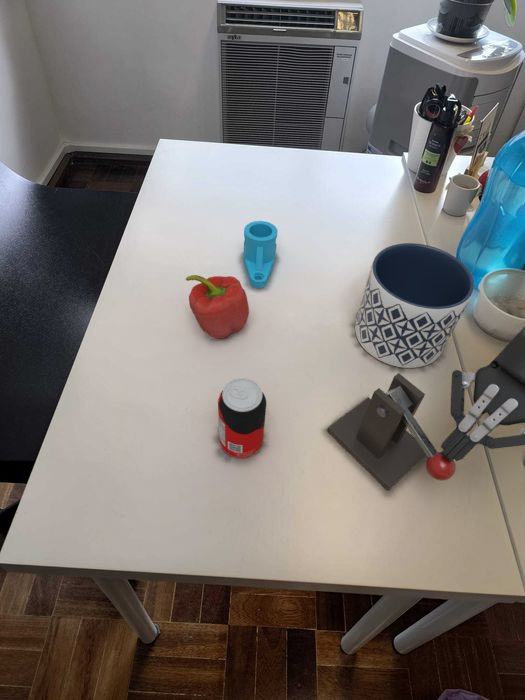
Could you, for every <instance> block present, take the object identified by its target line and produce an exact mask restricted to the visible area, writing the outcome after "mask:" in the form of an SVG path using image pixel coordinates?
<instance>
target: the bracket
mask: <svg viewBox="0 0 525 700" xmlns="http://www.w3.org/2000/svg"><path fill="white" fill-rule="evenodd" d="M243 238H244V241H243V258H242V260H243V264H244V267H245V271H246V274H247V277H248V281H249V285H250V286H251V287H252V288H254V289H262V288H265V287H266V286H267V285H268V281H269V279H270V276H271V274H272V272H273V269H274V266H275V263H276V254H277V253H276V252H277V238H278V228H277V227H276V225H275V224H273V223H271V222H269V221H265V220H264V221H263V220H254V221H252V222H249V223H247V224H246V225H245V226H244V228H243Z"/></svg>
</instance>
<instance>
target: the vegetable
mask: <svg viewBox="0 0 525 700" xmlns="http://www.w3.org/2000/svg"><path fill="white" fill-rule="evenodd" d="M185 280H186V281H188V282H189V281H197V282H200V283H197V284H195V285H194V286H193V287H192V288H191V290H190V293H189V294H188V304H189V308H190V309H191V312H192V314H193V315H194V317H195V320H196V322H197V324H198V325H199V327H200V329H201V330H202V331H203V332H205V334H207V335H208V336H210V337H212V338H217V339H224V338H227V337H228V336H229V335H230V334H231V333H234V332H239V331H240V330H242V329H243V328H244V327H245V325H247V321H248V318H249V315H250V307H249V301H248V297H247V293H246V290H245V289H244V288H243V286H242V284H241V281H240V280H239V279H238V278H236V276H231V275H229V276H221V275H217V276H216V275H214V276H210V277H208V278H205V277H204V276H201V275H196V274H192V275H191V274H190V275H189V276H187V277H185Z"/></svg>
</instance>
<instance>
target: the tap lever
mask: <svg viewBox="0 0 525 700" xmlns="http://www.w3.org/2000/svg"><path fill="white" fill-rule="evenodd" d="M385 394H387V395H388V396H389V397H390V398H391V399H393V400H394V401H395V402H396V403H397V404H398V405H400V406H401V407H402V408H403V409H404V410H405V412H404V414H403V416H402V418H401V419H402V420H403V422H404V423H405V425H406V426H407V427H408V428H407V429H408V430H409V433H410V434H411V435H412V436H413V437H414V438H415V439H416V441H417V442H418V443H419V445H420V446H421V448H422V449H423V451H424V452H425V454H426V455H427V456H426V457H427V459H426V461H425V469H426V471H427V473H428V475H429V476H430V477H431V478H432V479H434V480H437V481H440V482H441V481H443V482H444V481H448V480H449V479H451V478H452V477H453V476H454V475H455V473H456V470H457V468H456V466H457V465H456V461H455V460H453V461H451V462H449V461H448V460H447V459H446V458H445V457H444V456H443V455H442V454H441V452H442V451H438V450H437V449H436V447H435V446H434V444H433V443H432V442H431V440H430V439H429V437H428V435H427V434H426V433H425V431H424V430H423V429H422V427H421V425H420V424H419V423H418V421H417V420H416V418H415V417H414V416H413V415H412V414H411V412H410V411H409V410H408V407H409V406H410V405H412V402H411V400H410V399H409V398H408V396H407V395H406V393H405V392H404V390H403V389H402V387H401V386H399V387H396V388H394V389H391V390H389V391H388V390H387V392H385Z"/></svg>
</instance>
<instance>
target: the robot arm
mask: <svg viewBox="0 0 525 700" xmlns="http://www.w3.org/2000/svg"><path fill="white" fill-rule="evenodd" d="M473 382H474V385H473V397H472V399H473V403H474V404H473V405H472V407H471V408H470V409H469V410H468V413H466V415H465V397H466V395H465V394H466V393H465V391H466V390H467V389H470V388H471V386H472V383H473ZM450 388H451V389H450V407H449V412H450V413H449V415H450V416H451V417H452V419H453V420H454V422H455V425H456V426H455V429H453V430H452V432H451V433H450V434H449V435H448V436H447V437H446V438H445V439H444V440H443V441H442V442H441V444H440V448H441V449H442V451H440V452H441V454H442V455H443V456H444V457H445V458H446V459H447V460H448V461H449V462H451V461H453V460H454V462H458V461H462V460H464V458H465V457H466V456H467V455H468V454H469V453H470V452H471V451H472V450H473V449H474V448H475V447H476V446H477V445H482V446H484V447H487V449H489V450H495V449H496V450H497V449H504V448H514V447H521V446H525V426H524V427H522V428H520V430H519V434H517V435H508V436H500V437H492V436H490V434H491V433H493V431H495V430H496V429H497V428H498V427H500V426H507V427H508V426H513V425H520V424H525V325H524V326H523V327H522V328H521V329H520V331H519V332H518V333H517V334H516V335H515V336H514V337H513V338H512V339H511V340H510V341H509V342H508V343H507V344H506V346H505V347H504V348H503V349H502V350H501V351H500V352H499V353H498V354H497V355H496V356H495V357H494V358H493V359H492V360H491V361H490V363H489V364H487V365H485V366H482V367H479V368H478V369H477V370H476V371H475V372H474V371H462V370H460V369H455V370H453V371H452V373H451V387H450ZM486 414H487V415H488V417H487V418H486V419H484V421H482V423H481V424H480V425H479V426H477V427H476V428H475V426H476V425H477V424H478V423H479V421H480V420H481V419H482V418H483V417H484V416H485V415H486ZM473 428H475V429H474V430H473ZM472 430H473V431H472ZM471 431H472V432H471ZM470 432H471V433H470ZM468 433H469V434H468Z"/></svg>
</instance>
